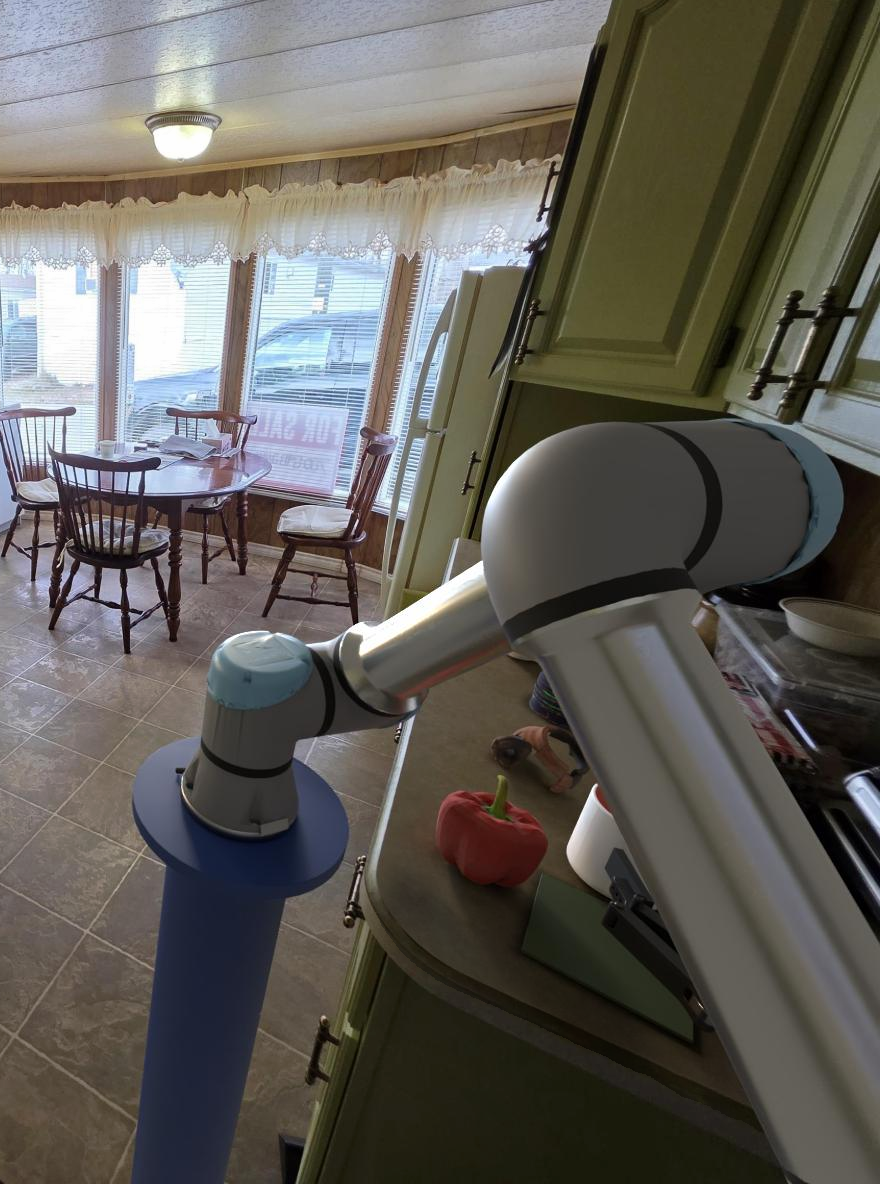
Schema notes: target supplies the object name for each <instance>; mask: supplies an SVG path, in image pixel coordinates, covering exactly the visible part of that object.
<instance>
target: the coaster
mask: <svg viewBox="0 0 880 1184" xmlns="http://www.w3.org/2000/svg"><path fill="white" fill-rule="evenodd" d="M609 904H610V903H607V902H605V901H603V900H601V899H600V898H599V899H598V898H597V897H595V896H592V895H590V894H588V893H586V892H584V891H582V890H581V889H578V888H575V887H573V886H571V885H569V884H567V883H565V882H563V881H560V880H558V879H556V878H554V877H552V876H550V875H547V874H546V873H544V872H541V875H540V878H539V882H538V886H537V890H536V894H535V898H534V902H533V905H532V909H531V913H530V915H529V920H528V924H527V928H526V931H525V935H524V939H523V943H522V946H521V950H520V952H521V953H522V954H524V955H526V956H528V957H530V958H532V959H534V961H535V960H536V961H537V962H539V963H541V964H543V965H545V966H546V967H548V968H550V969H551V970H553V971H555V972H558V973H559V974H561V975H563V976H565V977H567V978H569V979H571V980H572V981H575V982H576V983H578V984H580V985H582V986H583V987H585V988H587V989H589V990H591V991H593V992H595V993H596V994H598V995H600V996H602V997H604V998H605V999H608V1000H610V1001H611V1002H613V1003H615V1004H617V1005H619V1006H621V1007H622V1008H624V1009H626V1010H628V1011H630V1012H631V1013H634V1014H635V1015H637V1016H639V1017H641V1018H643V1019H644V1020H646V1021H648V1022H650V1023H652V1024H654V1025H656V1026H657V1027H659V1028H661V1029H663V1030H665V1031H667V1032H669V1033H670V1034H672V1035H674V1036H676V1037H678V1038H680V1039H681V1040H683V1041H685V1042H687V1043H689V1044H691V1045H693V1043H694V1022H693V1020H692V1019H691V1017H690V1016H689V1014H688V1013H687V1011H686V1010H685V1008H684V1007H683V1005H682V1004H681V1002H680V1001H679V1000H678V999H677V998H676V997H675V996H674V995H673V994H672V993H671V992H670V991H669V990H668V989H667V988H666V987H665V986H663V985H662V984H661V983H660V982H659V981H658V980H657V979H656V978H655V977H654V976H653V975H652V974H651V973H650V972H649V971H648V970H647V969H646V968H645V967H644V966H643V965H642V964H641V963H640V962H639V961H638V960H637V959H636V958H635V957H634V956H633V955H632V954H631V953H630V952H629V951H628V950H627V949H626V948H625V947H624V946H623V945H622V944H621V943H620V942H619V941H618V940H617V939H616V938H615V937H614V936H613V935H612V934H611V933H610V932H609V931H608V930H607V929H606V928H605V927H604V926H603V925H602V923H601V921H602V919H603V916H604V914H605V912H606V910H607V908H608V906H609Z"/></svg>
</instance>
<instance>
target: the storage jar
mask: <svg viewBox="0 0 880 1184" xmlns="http://www.w3.org/2000/svg"><path fill="white" fill-rule="evenodd" d="M528 702H529V706H530V709H532V711H533V712H534V713H536V714H537V715H538V716H540V717H542V718H543V719H545V720H546V721H548V722H551V723H553V724H555V725H558V726H561V727H564V728H568V729H571V728H570V726H569V724H568V722H567V720H566V718H565V716H564V714H563V712H562V710H561V708H560V706H559V703H558V701H557V699H556V697H555V695H554V693H553V691H552V689H551V687H550V685H549V683H548V681H547V678H546V676H545V674H544V672H543V670H542V671H541V672H540V673H539V675H538V677H537V680H536V681H535V683H534V686H533V691H532V696H531V697H530V700H529V701H528Z"/></svg>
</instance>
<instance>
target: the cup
mask: <svg viewBox="0 0 880 1184" xmlns="http://www.w3.org/2000/svg"><path fill="white" fill-rule="evenodd" d="M566 845H567V846H566V857H567V860H568V862H569V864H570V866H571V867H572V869H573V871H574V872H575V873H576V874H577V875H578V877H579V878H580V879H581V880H582V881H583V882H584V883H586V884H587V885H588V886H589V887H591V888H592V889H593V890H595V891H596V892H598V893H599V894H601V895H603V896H604V897H606V898H608V899H610V900H611V901H612V900H614V899H613V897H612V895H611V894H610V892H609V886H610V884H611V882H612V881H611V879H610V878H609V876H608V874H607V872H606V870H605V865H606V863H607V861H608V859H609V857H610V855H611V853H612V850H613V848H614V847H615V848H619V849H623V850H624V852H625V853H626V855H627V857H628V858H629V860H630V862H631V863H632V865H633V867H634V868H635V870H636V872H637V873H638V875H639V877H640V879H641V880H642V882H643V884H644V885H645V882H644V880H643V878H642V876H641V874H640V872H639V870H638V868H637V866H636V864H635V862H634V860H633V857H632V855H631V853H630V851H629V849H628V847H627V845H626V843H625V841H624V839H623V837H622V835H621V832H620V830H619V828H618V826H617V824H616V822H615V820H614V818H613V816H612V814H611V812H610V810H609V808H608V805H607V803H606V801H605V799H604V797H603V795H602V793H601V791H600V789H599V787H598V785H597V783H595V784H594V785H593V786H592V788H591V790H590V792H589V794H588V797H587V800H586V802H585V804H584V806H583V808H582V810H581V813H580V815H579V818H578V819H577V822H576V824H575V826H574V829H573V831H572V834H571V835H570V838H569V841H568V844H566ZM645 887H646V885H645ZM646 889H647V887H646ZM647 890H648V889H647ZM648 892H649V891H648ZM649 894H650V893H649ZM652 910H654V911H656V910H657V911H658V909H657V907H656V905H655V904H654V906H653V908H652Z"/></svg>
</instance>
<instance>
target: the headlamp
mask: <svg viewBox="0 0 880 1184" xmlns="http://www.w3.org/2000/svg"><path fill="white" fill-rule="evenodd" d="M548 737H551V738H553V739H556V740H558V741H560V742H562V743H564V744H566V745H568V747H569V752H568V755H569V756H570V757H572V758H573V759H574V761H575V764H576V767H577V768H574V769H573V770H572V771H571V772H570V766H569V765H568V764H566V763H565V762H564V761H563V760H561V759H560V758H559V757H558V755H557V754H556V753H555V752H554V751H553V749H552V747H551V746H550V743H549V740H548ZM490 750H491V753H492V755H493V757H494V758H495V760H496V761H497V762H499V763H500V764H501V766H503V767H504V768H506V769H507V770H510V769H511V768H513V766H514V765H515V764H516V763H518V762H520V761H521V760H523V759H527V758H528V757H529V755H530V754H531V753H532V751H533V750H535V751H536V752H534V754H533V756H534V757H535V758H536V759H538V760H539V761H540V763H541V764H542V765H543V766H544V767H546V768H547V769H548V770H549V771H550V772H551V773H552V774H553V775H554V776H555V777H556V778H558V780H557V781H556V782H555V783H554V784H553V785H551V786H550V787H549V791H550V792H552V793H554V794H561V793H564V792H566V791H567V790H568V789H569V790H571V789H573V788H575V787H576V786H577V785H579V783H580V782H581V780H582V779H583V776H584V775H586V774H587V773H589V771H590V768H589V766H588V764H587V762H586V760H585V758H584V755H583V753H582V751H581V749H580V747H579V745H578V743H577V741H576V739H575V737H574V735H573V733H570V732H569V731H567V730H566V729H564V728H562V727H560V726H559V725H558V726H557V725H552V724H548V725H545V726H543V727H542V726H537V725H536V726H535V725H534V726H531V725H530V726H525V727H522V728H520V729H516V730H515V731H514V732H513V733H512V734H508V735H501V736H498V737H496V738H494V739H493V740H492V742H491V746H490ZM568 772H570V773H568Z"/></svg>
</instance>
